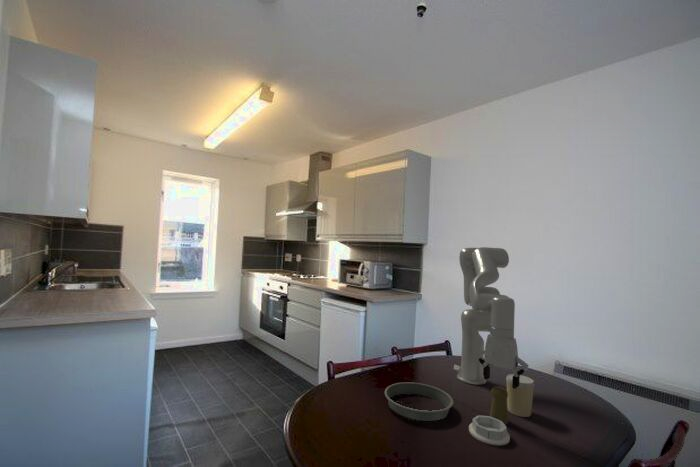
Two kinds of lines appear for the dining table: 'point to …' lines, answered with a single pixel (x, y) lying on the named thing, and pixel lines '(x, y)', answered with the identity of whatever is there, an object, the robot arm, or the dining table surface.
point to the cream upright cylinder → (520, 396)
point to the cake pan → (421, 390)
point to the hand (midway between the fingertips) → (500, 383)
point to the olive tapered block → (499, 404)
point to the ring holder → (489, 430)
